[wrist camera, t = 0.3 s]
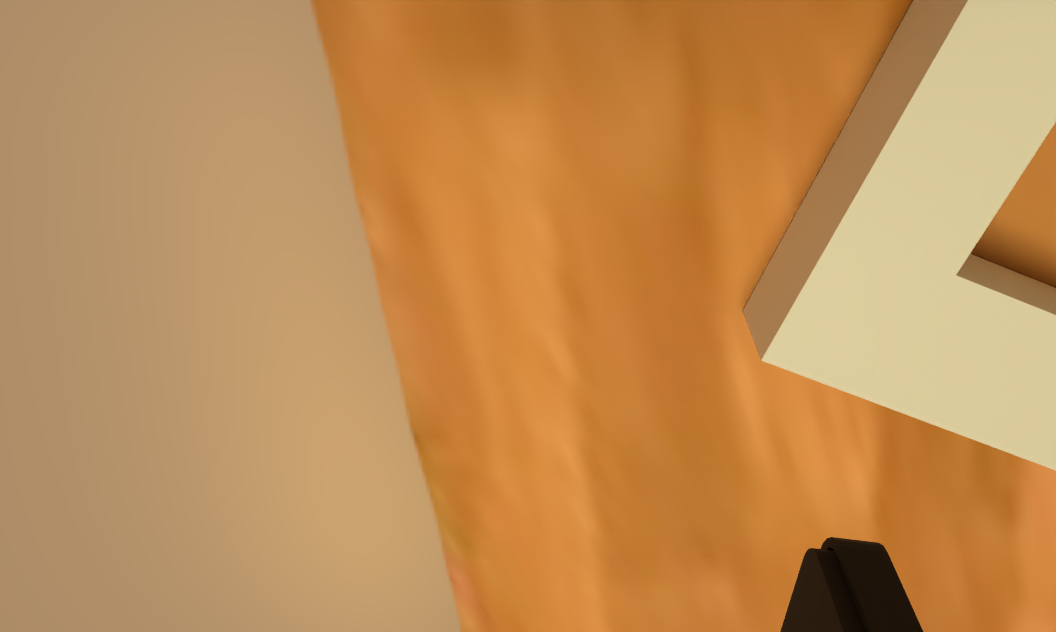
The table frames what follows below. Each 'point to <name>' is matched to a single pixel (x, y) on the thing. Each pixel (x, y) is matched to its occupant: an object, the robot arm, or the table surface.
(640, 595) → the table surface
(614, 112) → the table surface
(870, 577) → the robot arm
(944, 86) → the socket holder
